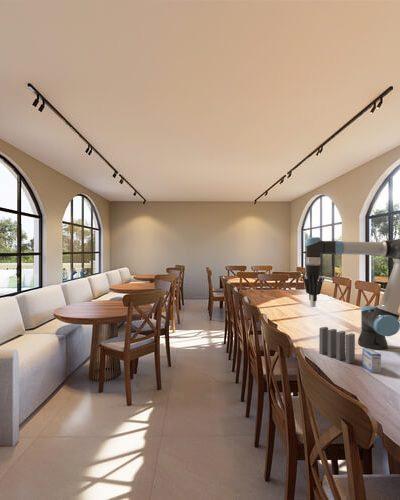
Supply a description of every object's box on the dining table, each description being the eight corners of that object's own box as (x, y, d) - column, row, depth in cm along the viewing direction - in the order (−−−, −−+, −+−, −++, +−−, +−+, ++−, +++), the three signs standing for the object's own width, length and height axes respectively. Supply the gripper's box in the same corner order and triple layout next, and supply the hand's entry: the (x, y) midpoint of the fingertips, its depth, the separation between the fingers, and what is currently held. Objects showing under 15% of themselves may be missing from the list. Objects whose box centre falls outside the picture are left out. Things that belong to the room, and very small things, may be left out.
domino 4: (351, 360, 153) (351, 333, 152) (354, 361, 151) (354, 334, 151) (345, 362, 150) (345, 334, 150) (348, 363, 148) (349, 335, 148)
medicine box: (361, 366, 146) (361, 348, 145) (370, 366, 146) (370, 348, 146) (371, 372, 138) (371, 354, 138) (381, 372, 138) (381, 354, 138)
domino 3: (342, 357, 157) (342, 330, 157) (345, 358, 155) (345, 331, 155) (336, 359, 154) (336, 332, 154) (339, 360, 153) (339, 333, 153)
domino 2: (333, 354, 161) (333, 328, 161) (336, 355, 160) (336, 329, 159) (327, 356, 158) (327, 330, 158) (330, 357, 157) (330, 330, 157)
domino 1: (325, 351, 165) (325, 326, 165) (328, 352, 164) (328, 327, 164) (319, 353, 163) (319, 327, 163) (322, 354, 161) (322, 328, 161)
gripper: (299, 264, 172) (299, 305, 172) (319, 265, 161) (318, 309, 161) (307, 264, 176) (307, 304, 176) (327, 265, 165) (327, 307, 165)
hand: (312, 306), depth 169 cm, fingers closed
